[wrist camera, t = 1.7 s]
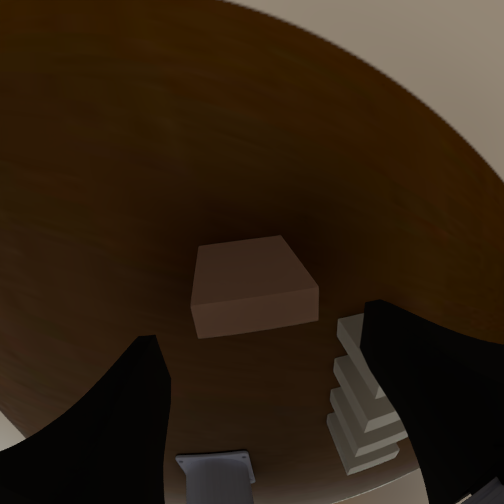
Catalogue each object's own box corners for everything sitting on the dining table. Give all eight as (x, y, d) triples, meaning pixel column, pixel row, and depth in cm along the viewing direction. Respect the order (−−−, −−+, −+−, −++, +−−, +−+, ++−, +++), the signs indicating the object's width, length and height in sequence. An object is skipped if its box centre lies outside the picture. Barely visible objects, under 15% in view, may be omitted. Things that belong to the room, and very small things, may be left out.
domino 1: (282, 259, 18) (318, 320, 12) (202, 270, 18) (198, 338, 11) (280, 235, 18) (318, 286, 11) (198, 245, 17) (190, 305, 11)
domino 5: (369, 409, 26) (395, 457, 19) (326, 422, 25) (347, 475, 19) (372, 400, 25) (399, 449, 18) (327, 414, 25) (350, 468, 18)
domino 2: (390, 321, 21) (437, 374, 15) (336, 335, 21) (375, 399, 14) (393, 305, 21) (443, 357, 14) (337, 318, 20) (380, 382, 14)
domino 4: (376, 386, 24) (407, 436, 18) (329, 399, 24) (354, 457, 17) (379, 375, 24) (412, 427, 17) (331, 389, 23) (358, 448, 17)
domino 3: (383, 357, 23) (421, 410, 16) (333, 371, 22) (364, 433, 16) (386, 344, 22) (427, 397, 16) (334, 358, 22) (368, 420, 15)
